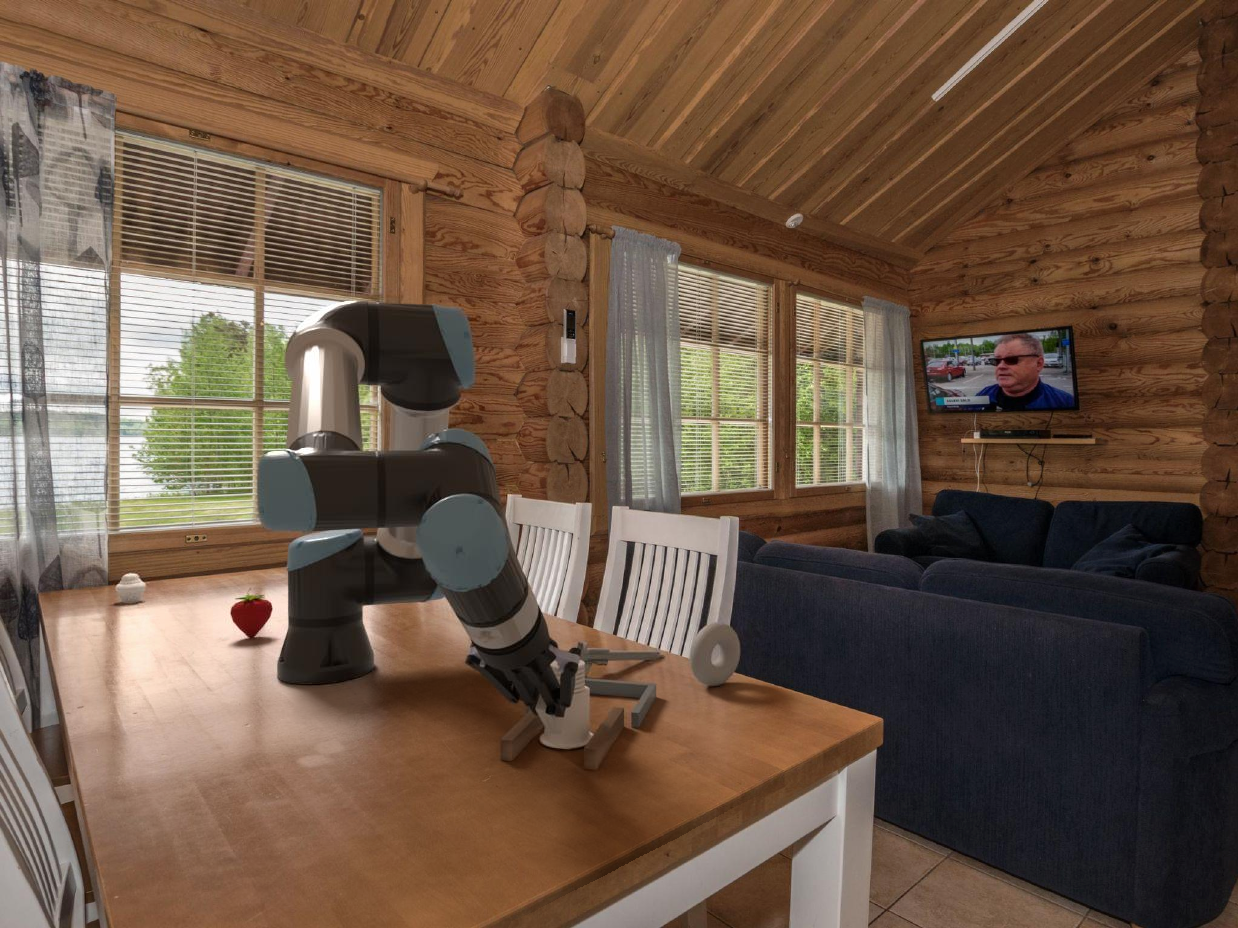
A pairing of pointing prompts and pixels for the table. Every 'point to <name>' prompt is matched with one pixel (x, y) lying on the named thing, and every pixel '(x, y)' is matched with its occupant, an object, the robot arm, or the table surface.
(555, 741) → the downlight
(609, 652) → the caliper
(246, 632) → the strawberry
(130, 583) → the muffin
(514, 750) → the slot
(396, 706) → the table surface
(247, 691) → the table surface
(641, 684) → the open frame
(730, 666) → the donut
